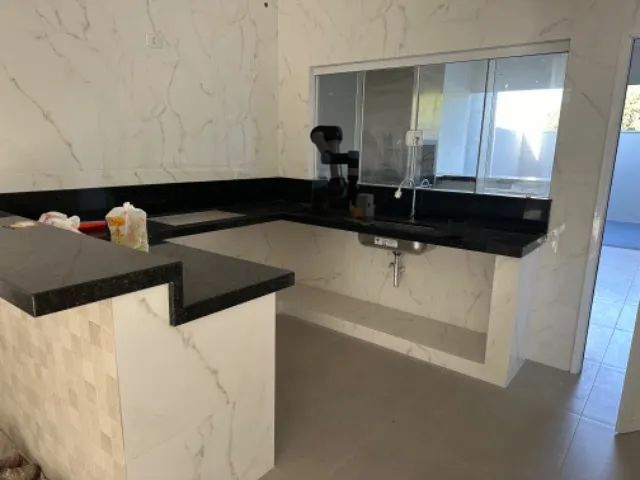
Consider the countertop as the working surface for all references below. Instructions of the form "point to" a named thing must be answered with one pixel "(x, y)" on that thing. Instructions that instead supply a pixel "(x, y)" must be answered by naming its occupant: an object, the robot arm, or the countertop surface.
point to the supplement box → (365, 204)
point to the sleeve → (356, 212)
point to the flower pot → (457, 227)
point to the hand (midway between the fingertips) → (351, 210)
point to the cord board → (361, 220)
